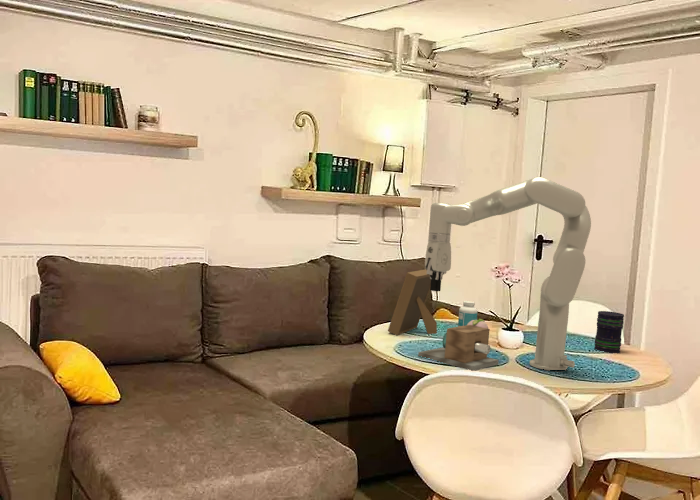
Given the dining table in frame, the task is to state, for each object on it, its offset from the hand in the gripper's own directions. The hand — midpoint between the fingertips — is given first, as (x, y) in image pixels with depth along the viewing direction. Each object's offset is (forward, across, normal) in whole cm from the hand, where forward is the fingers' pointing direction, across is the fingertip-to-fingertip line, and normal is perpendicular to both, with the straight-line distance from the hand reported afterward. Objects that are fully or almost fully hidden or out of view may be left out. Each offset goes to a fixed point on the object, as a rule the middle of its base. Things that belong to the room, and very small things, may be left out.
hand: (435, 290), depth 246 cm
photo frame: (+22, +26, +26) cm, 43 cm away
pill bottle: (+23, +44, +12) cm, 51 cm away
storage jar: (+23, +71, -36) cm, 82 cm away
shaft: (+19, 0, -15) cm, 24 cm away
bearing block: (+22, 0, -10) cm, 25 cm away
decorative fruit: (+23, +33, +2) cm, 40 cm away
